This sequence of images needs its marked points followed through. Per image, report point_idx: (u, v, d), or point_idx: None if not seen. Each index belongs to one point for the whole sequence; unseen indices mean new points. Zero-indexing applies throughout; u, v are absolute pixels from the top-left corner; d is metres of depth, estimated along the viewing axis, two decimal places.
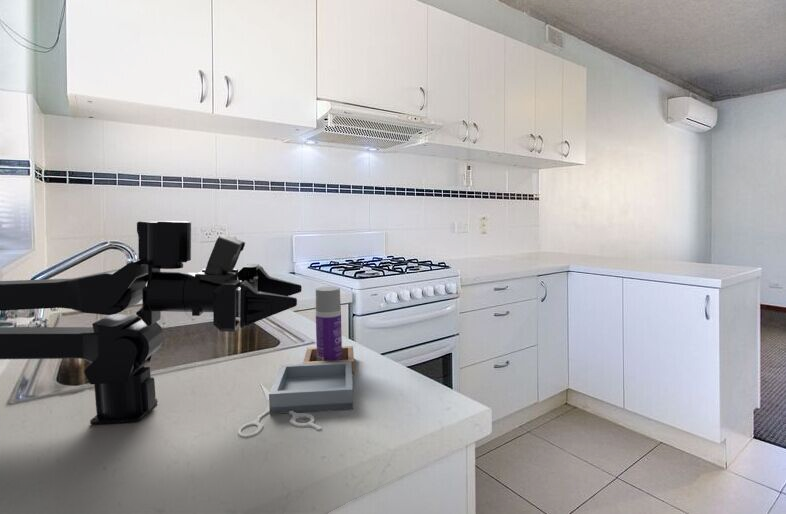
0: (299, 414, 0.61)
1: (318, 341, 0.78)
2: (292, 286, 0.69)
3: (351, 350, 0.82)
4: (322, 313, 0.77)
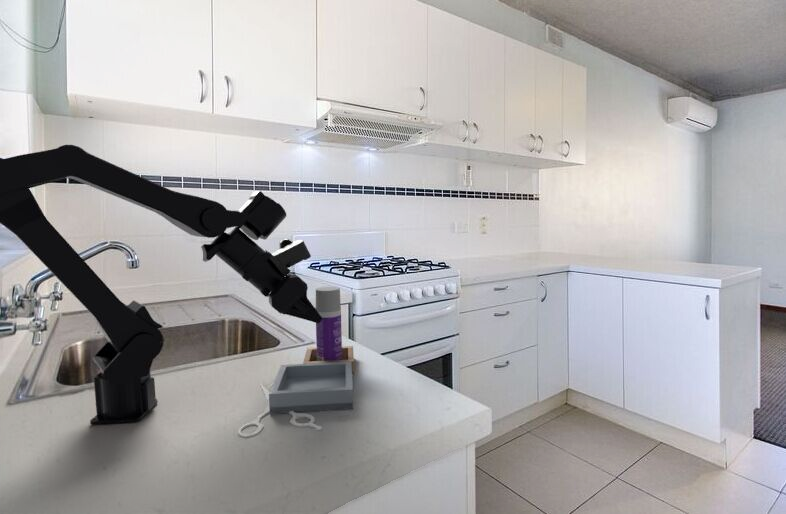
0: (299, 414, 0.61)
1: (318, 341, 0.78)
2: None
3: (351, 350, 0.82)
4: (322, 313, 0.77)
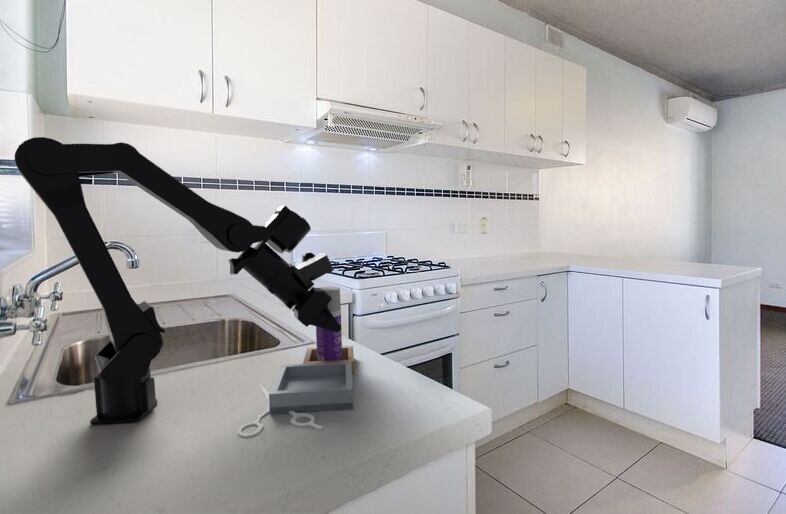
0: (299, 414, 0.61)
1: (318, 341, 0.78)
2: None
3: (351, 350, 0.82)
4: None
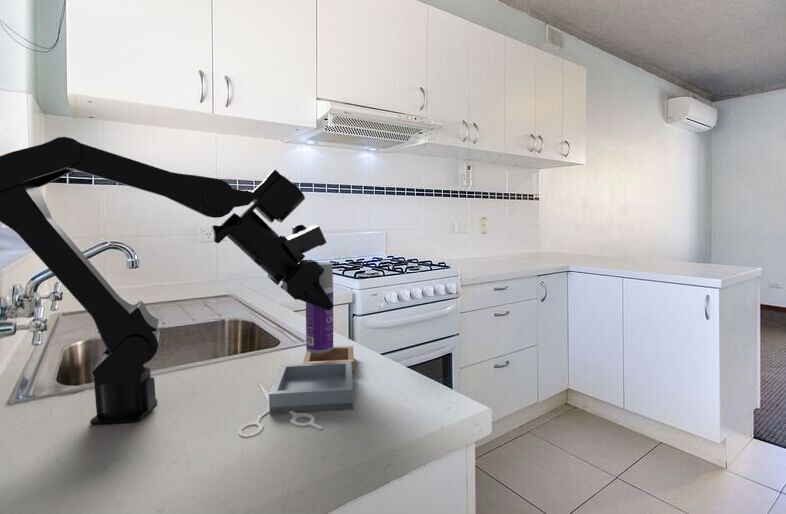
0: (299, 414, 0.61)
1: (308, 320, 0.72)
2: None
3: (351, 350, 0.82)
4: None
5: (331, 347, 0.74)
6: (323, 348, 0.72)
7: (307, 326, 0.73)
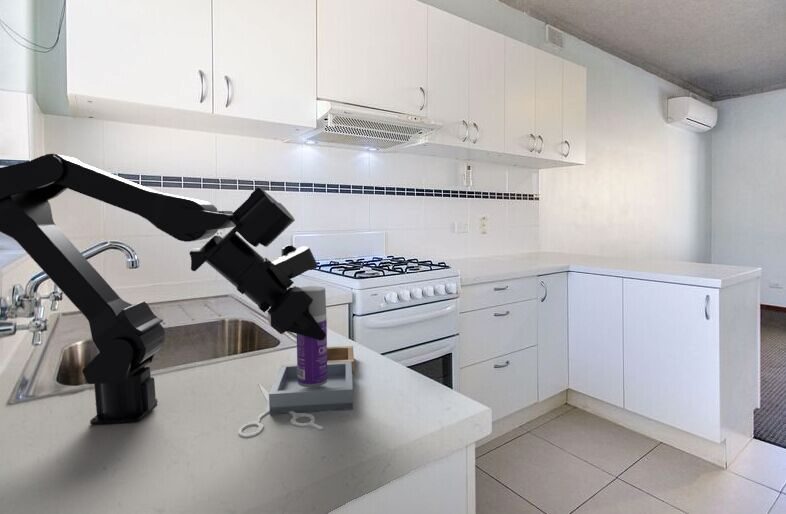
0: (299, 414, 0.61)
1: (299, 351, 0.66)
2: None
3: (351, 350, 0.82)
4: None
5: (325, 380, 0.67)
6: (315, 382, 0.66)
7: (298, 357, 0.66)
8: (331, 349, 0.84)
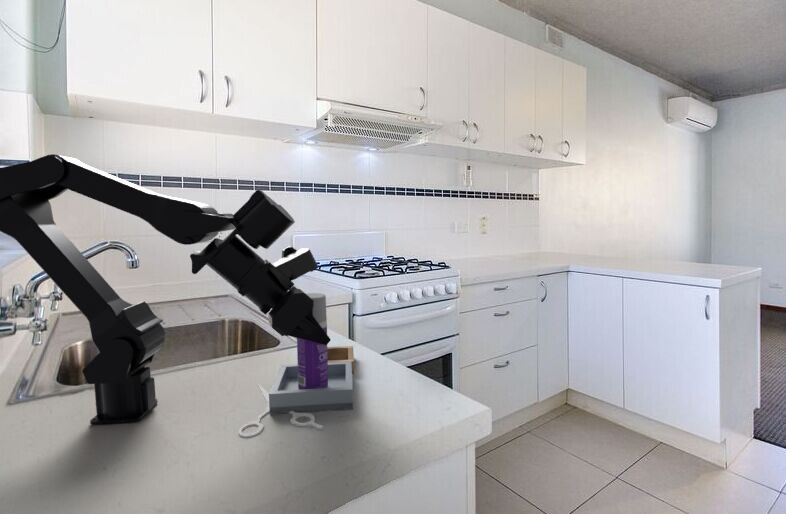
0: (299, 414, 0.61)
1: (299, 358, 0.66)
2: None
3: (351, 350, 0.82)
4: None
5: (325, 387, 0.67)
6: None
7: (298, 364, 0.66)
8: (331, 349, 0.84)
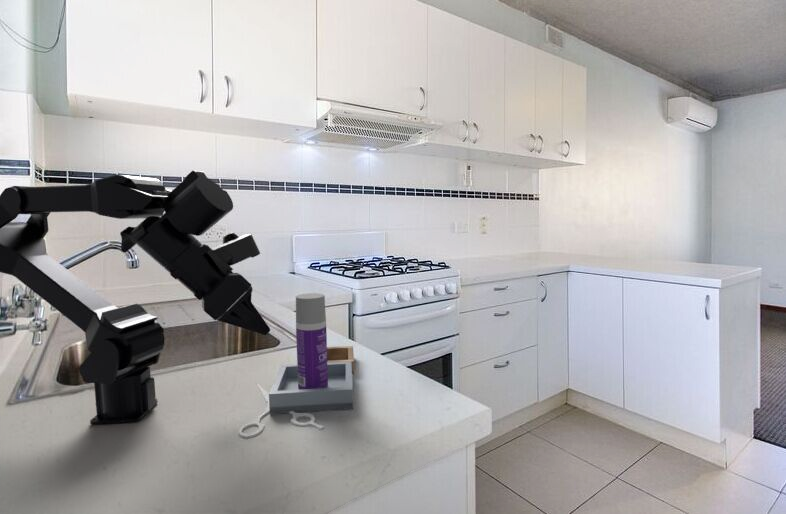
0: (299, 414, 0.61)
1: (299, 358, 0.66)
2: None
3: (351, 350, 0.82)
4: (303, 325, 0.65)
5: (325, 387, 0.67)
6: None
7: (298, 365, 0.66)
8: (331, 349, 0.84)
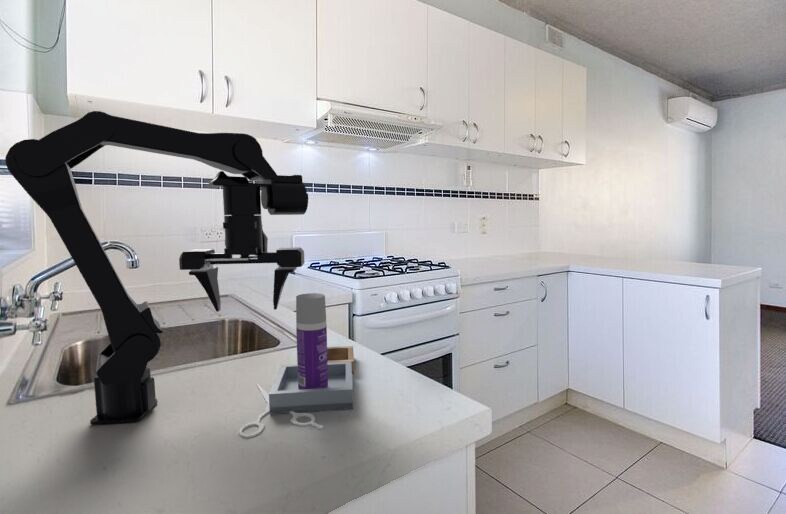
0: (299, 414, 0.61)
1: (299, 358, 0.66)
2: (219, 302, 0.70)
3: (351, 350, 0.82)
4: (304, 325, 0.65)
5: (325, 387, 0.67)
6: None
7: (298, 365, 0.66)
8: (331, 349, 0.84)
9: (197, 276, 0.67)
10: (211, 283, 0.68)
